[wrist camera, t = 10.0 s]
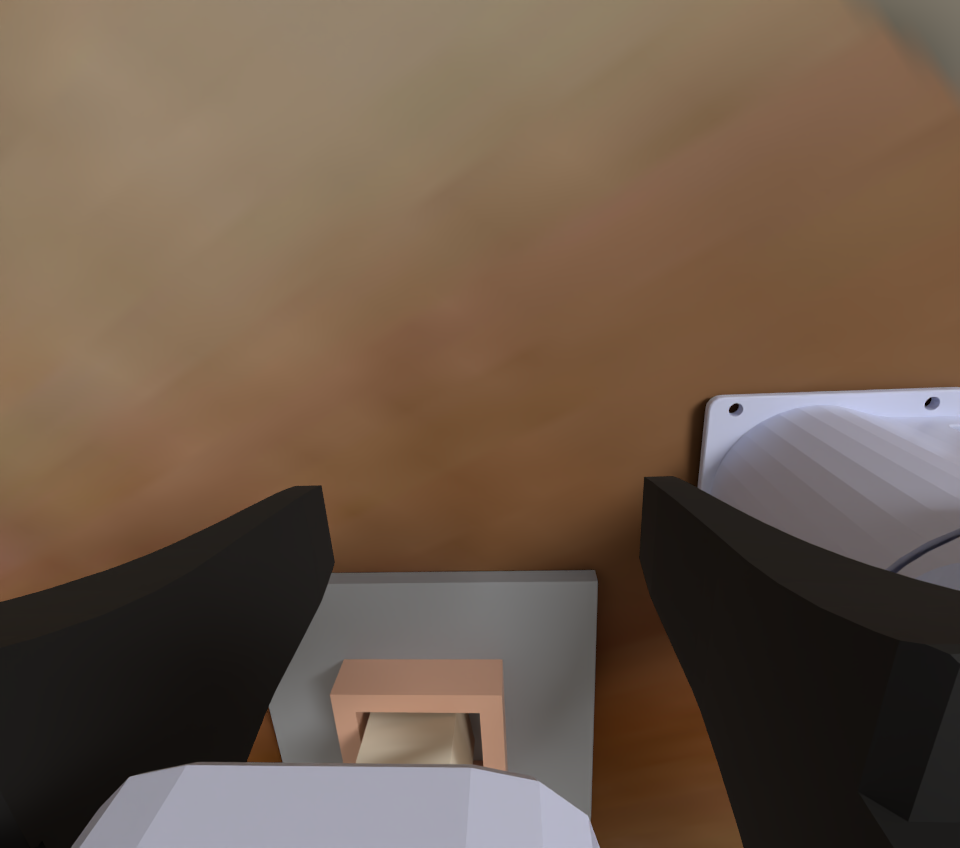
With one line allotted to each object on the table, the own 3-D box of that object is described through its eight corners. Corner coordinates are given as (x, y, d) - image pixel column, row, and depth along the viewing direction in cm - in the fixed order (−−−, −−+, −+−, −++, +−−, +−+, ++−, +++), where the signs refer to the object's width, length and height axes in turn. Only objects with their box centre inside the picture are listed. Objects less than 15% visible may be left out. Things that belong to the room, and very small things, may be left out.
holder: (594, 570, 23) (606, 613, 20) (588, 817, 28) (596, 877, 25) (247, 574, 24) (214, 615, 21) (304, 811, 29) (283, 867, 26)
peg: (459, 677, 24) (441, 842, 17) (474, 739, 25) (462, 914, 19) (378, 685, 24) (330, 848, 18) (397, 745, 26) (358, 918, 19)
